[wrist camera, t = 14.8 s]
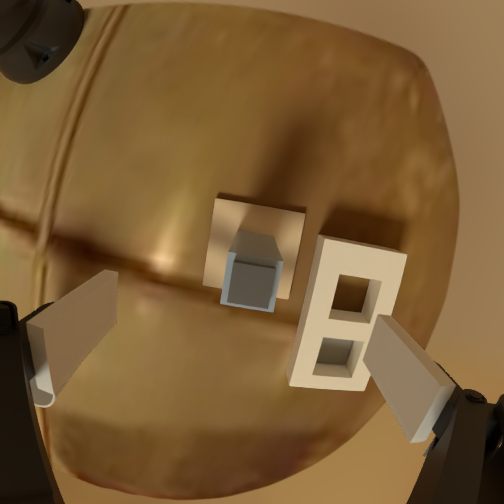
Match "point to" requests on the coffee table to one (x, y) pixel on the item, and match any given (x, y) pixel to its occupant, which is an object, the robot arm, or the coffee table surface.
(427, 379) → the robot arm
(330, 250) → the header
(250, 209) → the pad
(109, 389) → the coffee table surface
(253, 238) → the plug
